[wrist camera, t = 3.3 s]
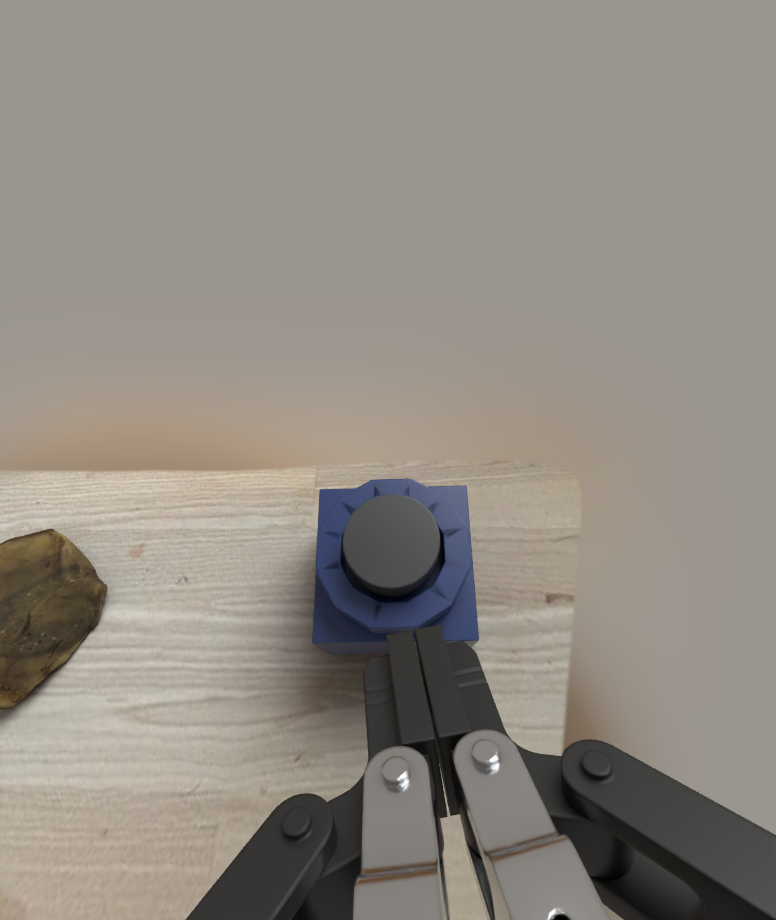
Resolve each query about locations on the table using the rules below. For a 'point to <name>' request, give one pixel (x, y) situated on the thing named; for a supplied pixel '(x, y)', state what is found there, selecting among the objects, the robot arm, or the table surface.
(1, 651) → the decorative stone
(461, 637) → the near button housing
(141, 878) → the table surface
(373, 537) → the grey push button
